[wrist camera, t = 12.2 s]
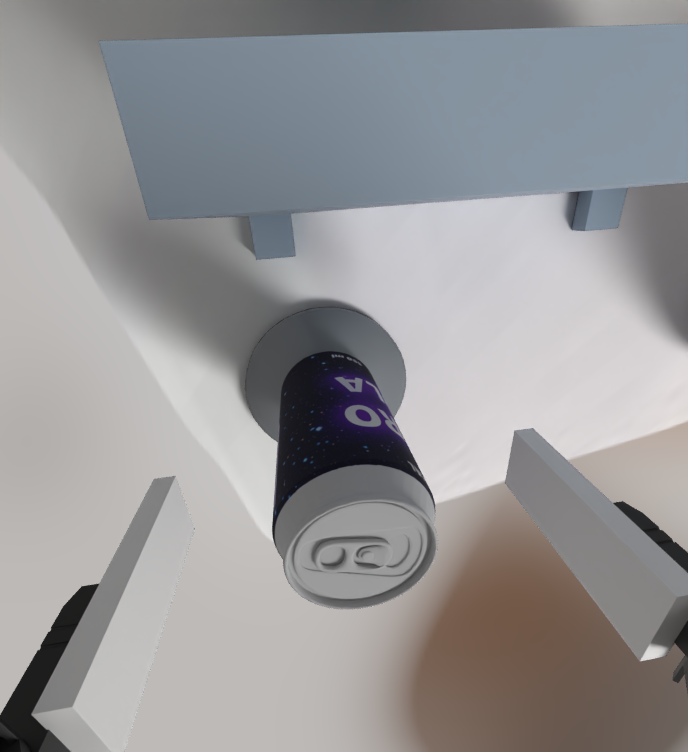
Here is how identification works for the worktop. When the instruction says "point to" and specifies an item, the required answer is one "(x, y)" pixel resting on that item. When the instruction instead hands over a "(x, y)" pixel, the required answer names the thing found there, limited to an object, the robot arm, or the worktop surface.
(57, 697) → the robot arm
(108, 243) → the worktop surface
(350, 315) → the grey dome disc
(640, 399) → the worktop surface
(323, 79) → the panel
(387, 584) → the beverage can
